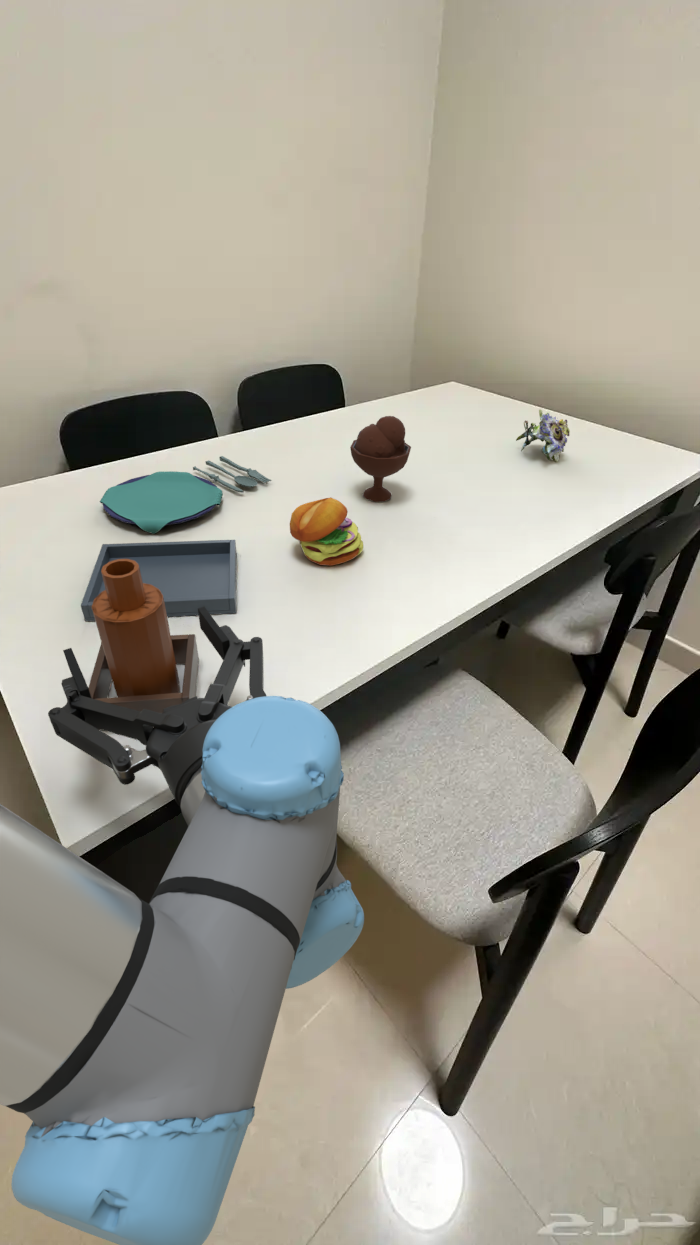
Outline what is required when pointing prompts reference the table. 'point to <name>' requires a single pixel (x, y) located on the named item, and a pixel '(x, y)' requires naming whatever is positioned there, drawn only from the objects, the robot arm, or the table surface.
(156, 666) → the bottle
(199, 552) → the tray
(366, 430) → the ice cream bowl
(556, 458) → the passion flower
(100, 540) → the table surface
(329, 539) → the cheeseburger
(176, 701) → the tray
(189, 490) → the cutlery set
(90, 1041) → the robot arm
